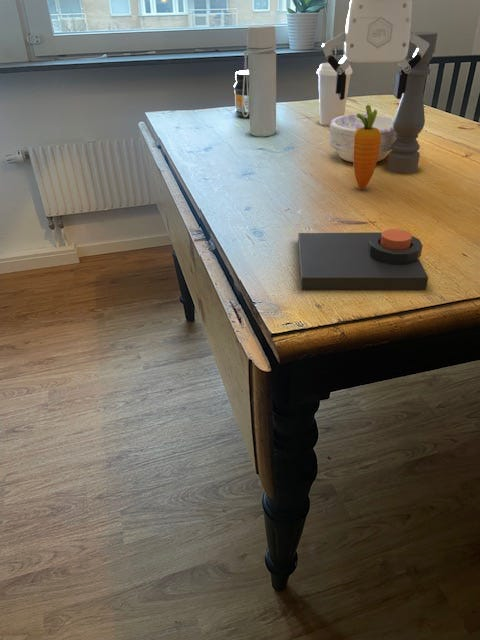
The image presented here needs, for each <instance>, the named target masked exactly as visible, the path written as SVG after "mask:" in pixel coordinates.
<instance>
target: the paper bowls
mask: <svg viewBox="0 0 480 640" xmlns="http://www.w3.org/2000/svg"><path fill="white" fill-rule="evenodd" d="M357 114H358V113H353V114H346V115H345V114H344V116H340V117H337V118H335V119H333V120H332V121H331V124H330V126H329V127H330V128H329V141H328V142H329V146H330V147H331V148H332V149H334V150H336V151H337V154H338V156H339V157H340V158H341V159H342V160H344V161H346V162H350V163H353V143H354V133H355V131H356V130H357V129H358V128H362V127H364V124H363V122H362V120H361V119H360V118H358V117H357V116H356V115H357ZM360 114H361V115H363V116H365V117H367V120H368V116H367V113H360ZM393 120H394V117H392V116H390V115H384V114H377V115H376V118H375V121H374V123H373V125H372V127H374V128H377V129H378V130H379V131H380V133H381V140H380V147H379V153H378V159H377V162H381V161H382V160H384V159H386V157H387V156H388V155H389V152H390V151H392V149H391V145H392V143H394V141H395V140H396V139H397V137H396V132H395V131H394V128H393ZM377 162H376V163H377Z"/></svg>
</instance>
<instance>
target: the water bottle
mask: <svg viewBox="0 0 480 640" xmlns="http://www.w3.org/2000/svg"><path fill="white" fill-rule="evenodd" d="M275 28H276V27H275V25H269V24H268V25H265V24H264V25H250V26H248V27H247V41H246V48H247V49H246V50H243V56H244V68H243V71H244V81H243V95H242V112H243V116H244V117H247V116H248V114H249V110H250V118H249V134H250V135H251V136H254V137H259V138H265V137H266V138H267V137H271V136H273V135H275V134H276V133H277V51H275V50H277V48H278V47H277V46H278V45H277V40H276V29H275ZM245 70H246V80H247V100H248V112H247V115H244V111H243V99H244V83H245ZM247 70H248V72H249V94H248V77H247Z"/></svg>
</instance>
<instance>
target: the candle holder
mask: <svg viewBox="0 0 480 640" xmlns="http://www.w3.org/2000/svg"><path fill="white" fill-rule="evenodd" d="M411 32H412V33H414V34H415V35H417V36H419V37H420V38H422V39H424V40H425V41H427V42H428V43H429V47H428V49H427V50H426V52H425V54H424V55H423V56H422V58H421V61H420V62H419V63H418V64H417V65H416V66H415V67H413V68H412V69H411V71H410V72H409V73H408V76H407V83H406V90H405V93H402V96H401V99H399V100H400V101H399V103H398V105H397V106H398V107H397V109H396V112H395V114H394V117H393V118H394V120H393V128H394V131H395V132H396V137H397V139H396V140H395V141H394V143H392V145H391V149H392V150H390V151H389V153H388V158H387V166H386V170H387V171H388V172H390V173H391V174H392V173H393V174H398V175H408V174H409V175H411V174H415V173H417V172H418V167H419V162H420V157H421V156H420V155H421V154H420V152H419V150H420V148H421V146H420V144H419V141H418V140H417V139H418V138H419V134H420V133H421V132H422V131H423V129H424V127H425V123H426V117H425V104H424V103H425V102H424V90H425V85H426V79H427V77H428V76H429V75H430V73H431V68H430V67H429V66H428V65H429V63H430V62H431V60H432V58H433V54H435V53H436V47H437V41H438V33H439V32H436V31H411ZM416 50H417V46H416V45H415V44H413V43H411V42H410V41H409V48H408V53H407V56H406V58H405V59H406V60H408V59H409V58H410V57H411V56H412V55H414V53H415V52H416Z"/></svg>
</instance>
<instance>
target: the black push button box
mask: <svg viewBox="0 0 480 640" xmlns="http://www.w3.org/2000/svg"><path fill="white" fill-rule="evenodd" d="M382 232H383V231H382ZM382 232H380V231H379V232H375V231H374V232H298V233H297V246H298V247H297V248H298V250H297V251H298V262H299V275H300V276H299V277H300V288H301V291H426V290H427V287H428V281H429V276H428V274H427V272H426V269H425V268H424V266H423V265H422V262H421V260H420V257H421V256H422V251H423V245H424V244H423V243H422V241H421V239H419V238H418V237H415V236H414V235H412V240H411V246H410V248H408V249H405V250H393V249H388V248H384V247H383V246H381V245H380V242H381V234H382Z"/></svg>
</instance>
